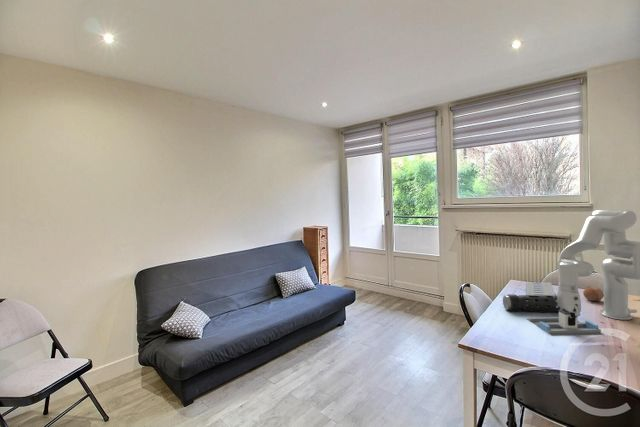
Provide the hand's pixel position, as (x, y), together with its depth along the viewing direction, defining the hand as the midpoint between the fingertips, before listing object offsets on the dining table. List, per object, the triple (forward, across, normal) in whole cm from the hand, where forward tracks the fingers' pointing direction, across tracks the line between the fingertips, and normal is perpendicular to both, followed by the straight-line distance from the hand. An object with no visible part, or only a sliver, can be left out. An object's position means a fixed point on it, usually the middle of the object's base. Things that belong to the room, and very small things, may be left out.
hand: (568, 323), depth 151 cm
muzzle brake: (+5, +25, +2) cm, 25 cm away
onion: (+5, +41, -45) cm, 61 cm away
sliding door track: (+4, +4, 0) cm, 6 cm away
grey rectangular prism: (+2, 0, 0) cm, 2 cm away
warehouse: (+5, +48, -17) cm, 52 cm away
